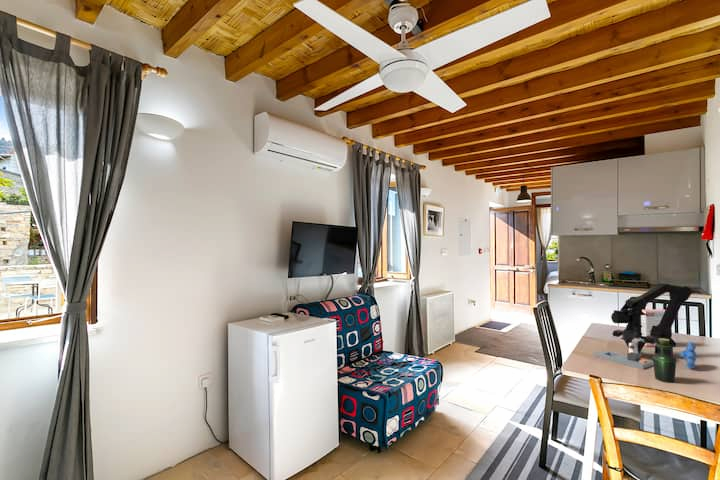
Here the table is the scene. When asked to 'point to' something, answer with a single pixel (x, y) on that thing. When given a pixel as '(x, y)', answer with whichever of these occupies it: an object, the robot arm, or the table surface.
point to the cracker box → (651, 322)
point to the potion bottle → (664, 362)
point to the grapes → (689, 355)
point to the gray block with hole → (625, 359)
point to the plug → (633, 347)
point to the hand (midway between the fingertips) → (634, 352)
